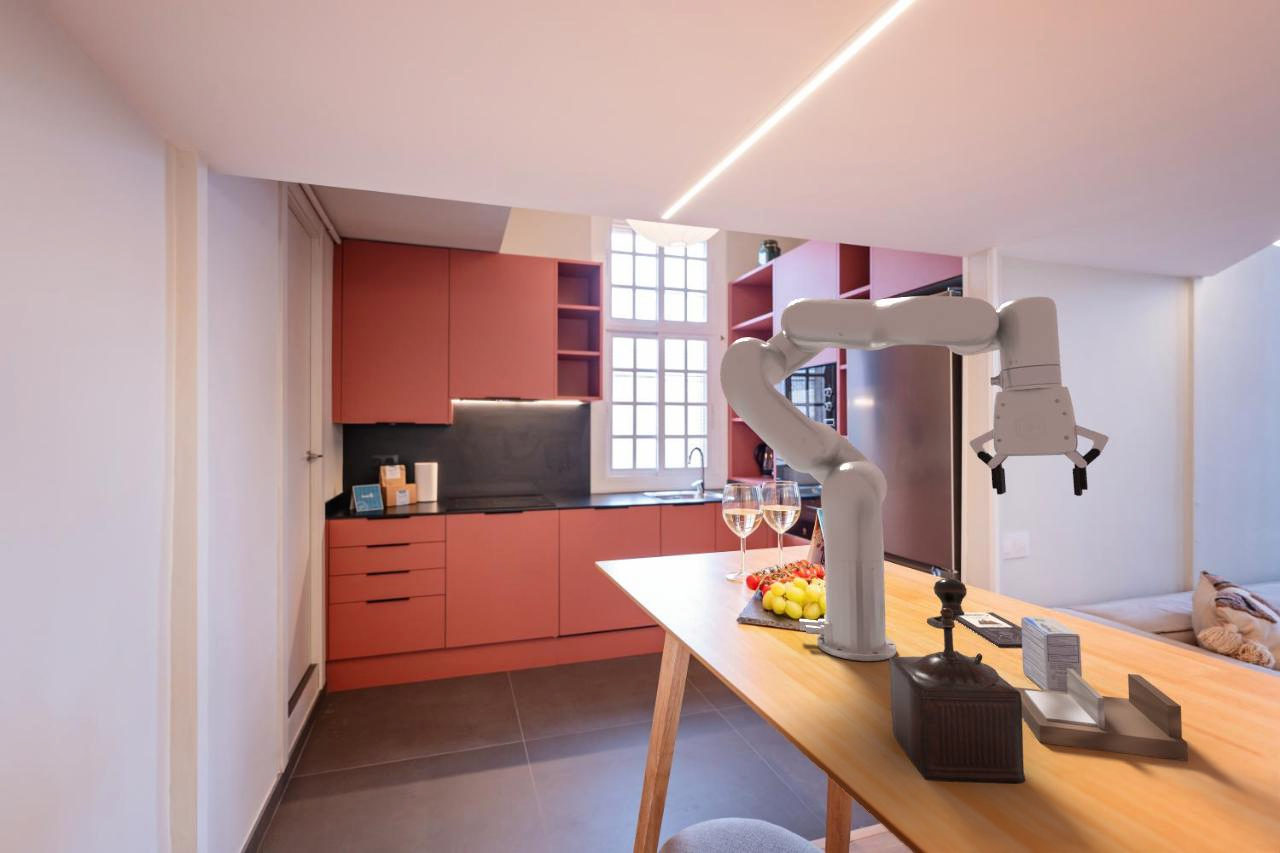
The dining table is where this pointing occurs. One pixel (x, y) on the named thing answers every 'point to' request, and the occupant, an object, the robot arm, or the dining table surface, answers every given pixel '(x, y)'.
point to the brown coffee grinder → (956, 708)
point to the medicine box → (1049, 652)
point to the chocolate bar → (993, 628)
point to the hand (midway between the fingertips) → (1038, 494)
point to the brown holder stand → (1107, 718)
